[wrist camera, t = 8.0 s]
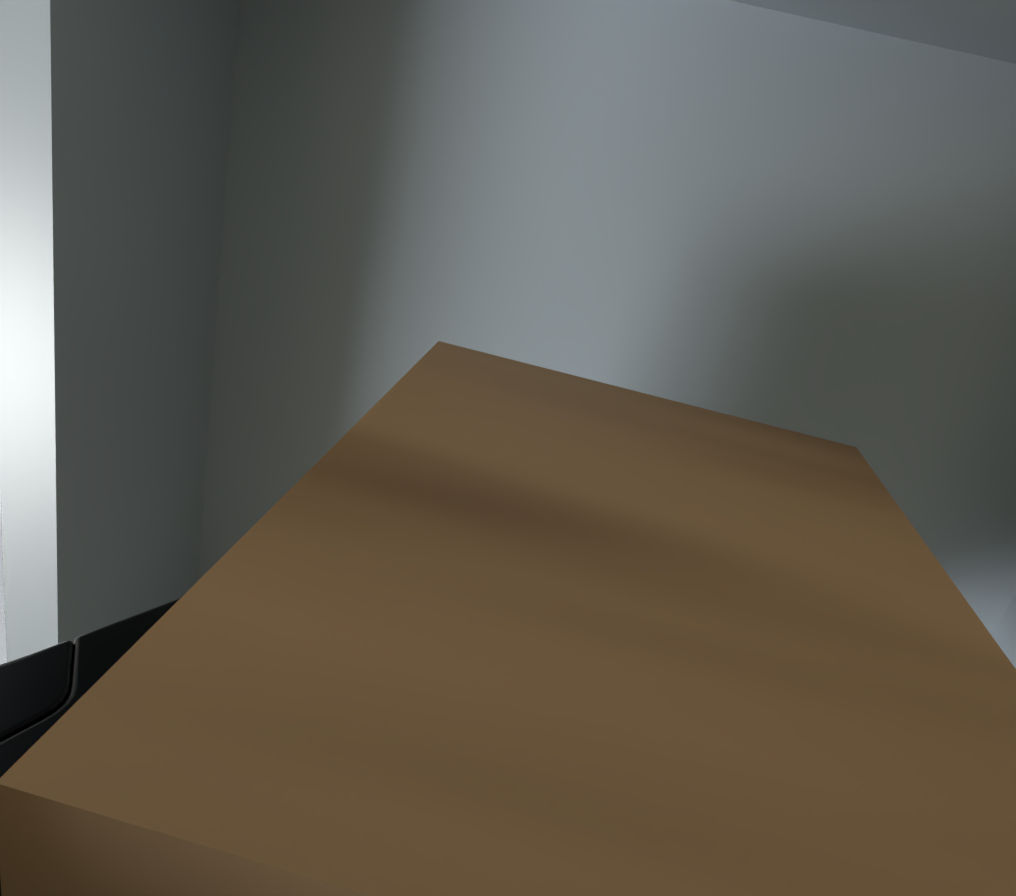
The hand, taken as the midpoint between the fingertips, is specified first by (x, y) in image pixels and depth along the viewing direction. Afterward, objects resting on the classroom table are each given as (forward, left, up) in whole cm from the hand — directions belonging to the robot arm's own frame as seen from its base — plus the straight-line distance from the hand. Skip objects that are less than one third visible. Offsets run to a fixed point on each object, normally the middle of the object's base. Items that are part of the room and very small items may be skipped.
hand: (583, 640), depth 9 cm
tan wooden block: (0, 0, -2) cm, 2 cm away
